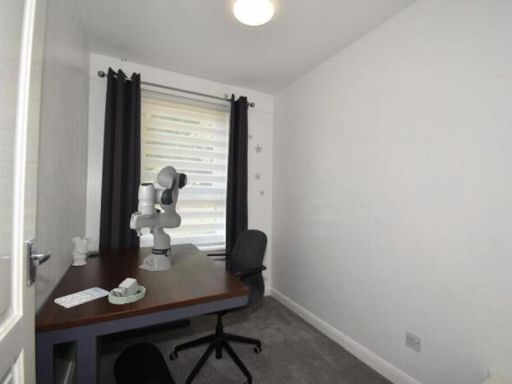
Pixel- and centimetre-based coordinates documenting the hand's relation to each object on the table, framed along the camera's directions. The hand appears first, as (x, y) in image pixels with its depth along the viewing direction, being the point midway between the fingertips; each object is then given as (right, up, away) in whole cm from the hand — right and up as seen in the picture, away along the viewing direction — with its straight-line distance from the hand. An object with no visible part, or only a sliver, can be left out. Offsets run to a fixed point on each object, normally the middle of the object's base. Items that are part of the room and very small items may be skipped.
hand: (146, 234), depth 145 cm
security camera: (-5, -27, -20) cm, 34 cm away
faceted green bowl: (-3, -30, -15) cm, 34 cm away
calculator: (-25, -30, -17) cm, 42 cm away
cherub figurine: (-66, -29, +42) cm, 83 cm away
